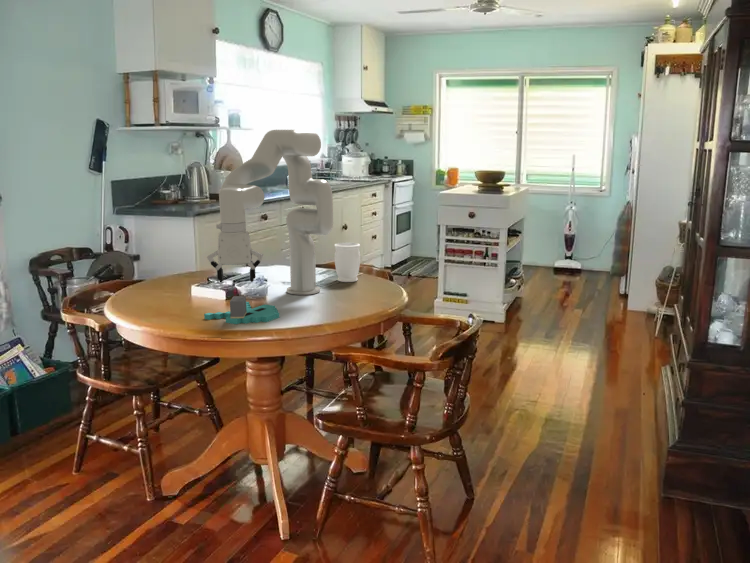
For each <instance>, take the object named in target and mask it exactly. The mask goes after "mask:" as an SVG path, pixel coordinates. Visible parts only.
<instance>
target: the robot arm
mask: <svg viewBox="0 0 750 563" xmlns="http://www.w3.org/2000/svg"><path fill="white" fill-rule="evenodd" d="M321 148H322V141H321V138H320V136H319V134H318V133H316V132H314V131H307V130H299V129H271V130H269V131H267V132H266V133H265V134H264V136H263V138H262V139H261V142H260V143H259V144H258V146H257V148H256V150H255V151H254V154H253V155H252V156H251V158H250V159H248V160H246V161H245V162H243V163H241V164H240V165H238V166H237V167H236V168H235V169H233V170H232V171H230V172H229V174H228V175H227V176H226V178H225V180H224V182H223V183H222V185H221V188H220V189H219V192H218V197H219V198H218V200H219V213H220V215H219V216H220V223H218V224H217V223H216V225H215V226H216V230H217V229H218V230H220V232H218V237H217V250H216V251H214V252H212V253H210V254H209V255H207V257H206V258H207V260H208V262H209V264H210V266H212V267H213V268H214V269H215V270H216V274H217V275H216V276H217V278H216V279H217V280H219V283H223V282H224V271H223V270H224V269H223V267H222V266H230V265H231V266H234V265H235V266H236V265H237V266H238V265H248V266H249V268H250V269H249V278H250V279H249V281H250V282H251V283H252V282H254V281H255V279H256V268H257V267H258V266H259V265H260V264H261V261H262V259H263V258H264V254H263V253H260V252H259V251H256V250H254V249H252V244H251V238H250V234H249V231H248V230H247V227H246V226H247V224H246V210H251V209H252V210H255V209H258V208H259V207H261V206H262V205H263V203H264V202H265V193H264V191H263V189H262V188H261V187H260V186H258V185H255V184H251V183H252V182H255V181H259V180H262V179H263V180H264V179H266V178H268V177H270V176H271V175H273V174H274V173H275V171H276V169H277V167H278V166H279V164H280V161H281V160H282V158H283V160H284V161H285V163H286V166H287V174H288V191H289V199H290V202H291V203H293V204H294V205H302V206H315V208H310V207H309V208H303V207H298V208H293V209H291V210H290V211H288V213H287V215H286V221H285V222H286V227H287V232H288V238H289V239H288V240H289V266H290V267H289V269H290V273H289V274H290V286H288V287H286V293H288V294H290V295H298V296H299V295H300V296H304V295H305V296H306V295H308V296H309V295H314V294H317V293H320V291H321V288H320V287H319V286H317V279H316V278H317V277H316V276H317V273H316V271H317V270H316V244H315V241H314V239H313V238H312V236H311V235H314V236H315V235H316V236H326V235H329V234H330V233H331V232H332V230H333V227H334V226H333V225H334V211H333V210H334V206H333V205H334V203H333V200H334V199H333V190H332V186H331V184H330V183H329V182H328V181H327V180H325V179H323V178H322V179H319V178H317V179H316V178H313V174H312V173H313V172H312V165H311V164H312V163H311V161H310V160H309V158H308V157H315V156H316V155H318V154H319V152H320V151H321ZM216 256H217V260H218V262H216V261H215V260H214V259H215V258H216ZM253 256H255V257H257V259H256V261H255V262H254V261H253V260H252V259H253Z"/></svg>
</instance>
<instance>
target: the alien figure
mask: <svg viewBox="0 0 750 563" xmlns="http://www.w3.org/2000/svg"><path fill="white" fill-rule="evenodd" d="M246 310H247V313H246V315H245V316H244V318H231V314H230V311H225V312H223V311H222V312H221V311H218V312H215V313H213V312H207V313H204V314H203V315H204V316H203V317H204V320H208V321H209V320H213V319H217V320H221V319H223V318H224V319H225V323H226V324H227V323H228V324H234V325H239V324H245V325H247V324H250V323H255V324H257V323H260V322H263V323H269V322H271V321H273V320H276V319H279V318H280V312H279V310H278V309H277V307H276V305H271V304H262V305H258V306H256V307H253V308H252V306H251V304H250V302H249V301H246Z"/></svg>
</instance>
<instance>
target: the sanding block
mask: <svg viewBox="0 0 750 563" xmlns="http://www.w3.org/2000/svg"><path fill="white" fill-rule="evenodd" d="M246 302H247V296H246V295H243V296H242V295H238V296H237V295H235V296H232V298H231V299H230V301H229V308H230V309H229V310H230V314H231V318H244V316H245V315H246V313H247V310H246Z"/></svg>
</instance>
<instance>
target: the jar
mask: <svg viewBox="0 0 750 563" xmlns="http://www.w3.org/2000/svg"><path fill="white" fill-rule="evenodd" d="M334 248H335V250H334V256H333V257H334V265H335V271H336V274H337V276H338V277H337V281H339V282H342V283H353V282H357V281H358V277H357V276H358V274H359V272H360V266H361V252H360V248H361V244H360V243H359V242H358V243H356V242H337V243H334Z"/></svg>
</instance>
